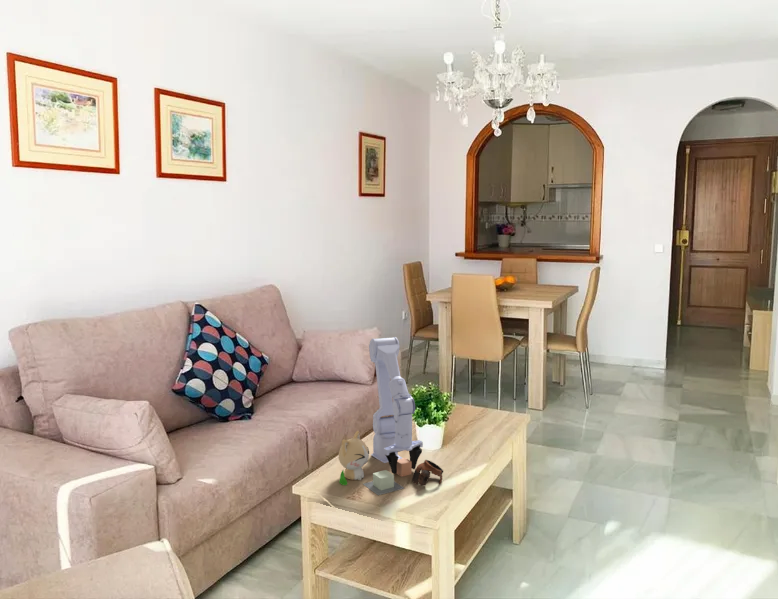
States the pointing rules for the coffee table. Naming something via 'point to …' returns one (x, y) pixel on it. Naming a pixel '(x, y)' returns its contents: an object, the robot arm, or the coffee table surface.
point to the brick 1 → (383, 480)
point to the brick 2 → (404, 467)
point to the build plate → (380, 492)
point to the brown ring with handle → (426, 472)
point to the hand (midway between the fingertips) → (403, 470)
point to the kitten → (353, 458)
